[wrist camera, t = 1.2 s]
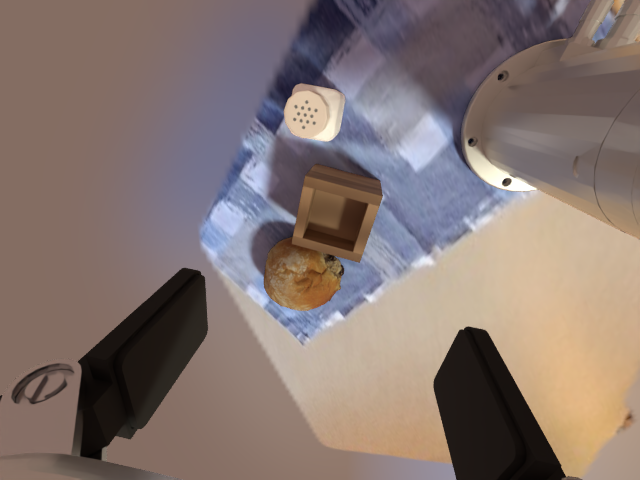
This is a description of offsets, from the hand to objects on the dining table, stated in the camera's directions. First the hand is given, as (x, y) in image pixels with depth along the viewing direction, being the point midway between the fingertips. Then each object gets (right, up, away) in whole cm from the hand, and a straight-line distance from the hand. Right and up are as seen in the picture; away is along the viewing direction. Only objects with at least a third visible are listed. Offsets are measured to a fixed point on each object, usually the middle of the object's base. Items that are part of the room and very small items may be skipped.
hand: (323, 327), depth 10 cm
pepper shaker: (0, +16, +18) cm, 25 cm away
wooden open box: (+2, +8, +22) cm, 24 cm away
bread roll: (-2, 0, +27) cm, 27 cm away
